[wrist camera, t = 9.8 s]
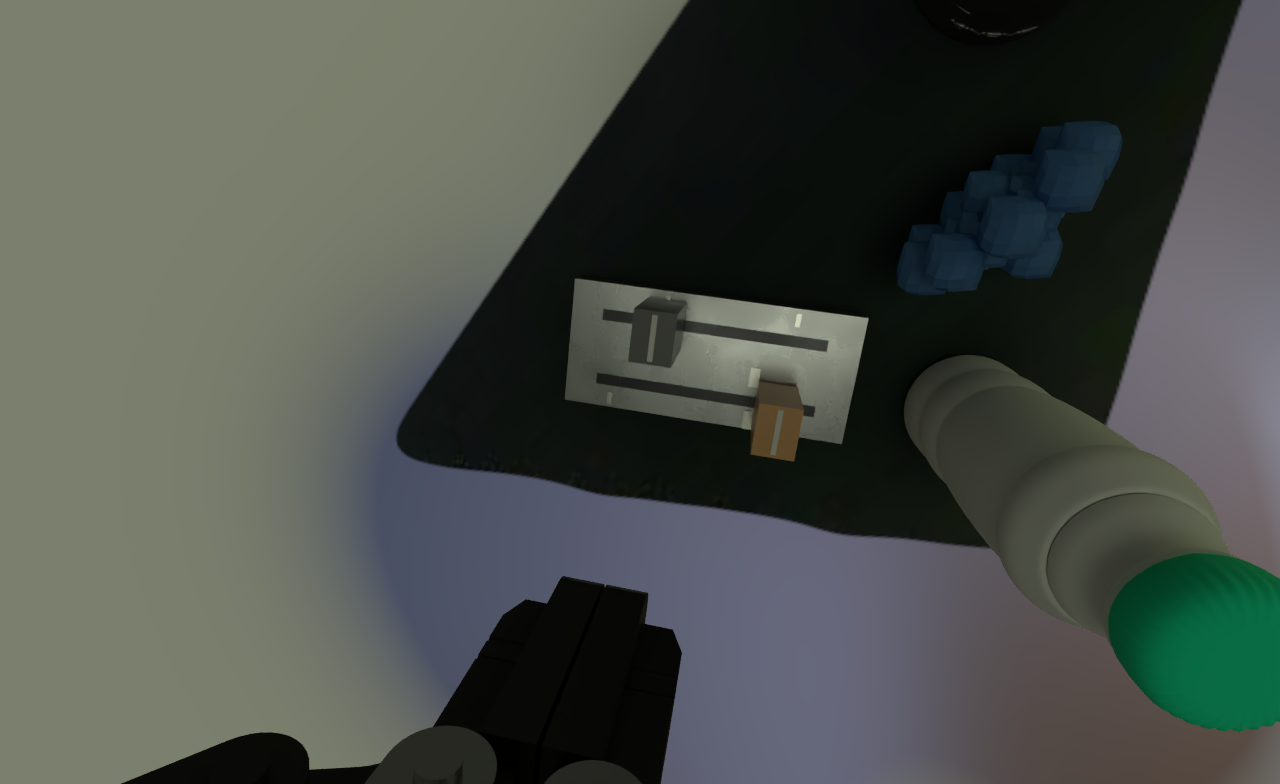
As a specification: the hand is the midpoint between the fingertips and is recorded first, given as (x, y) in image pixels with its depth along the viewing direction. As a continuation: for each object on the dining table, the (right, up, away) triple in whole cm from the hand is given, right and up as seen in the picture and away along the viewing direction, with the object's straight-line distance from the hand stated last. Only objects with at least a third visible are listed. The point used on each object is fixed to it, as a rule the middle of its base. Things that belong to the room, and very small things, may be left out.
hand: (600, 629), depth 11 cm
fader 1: (+2, +8, +29) cm, 30 cm away
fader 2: (+9, +3, +29) cm, 31 cm away
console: (+5, +7, +32) cm, 33 cm away
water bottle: (+21, +3, +30) cm, 37 cm away
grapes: (+20, +14, +27) cm, 37 cm away
